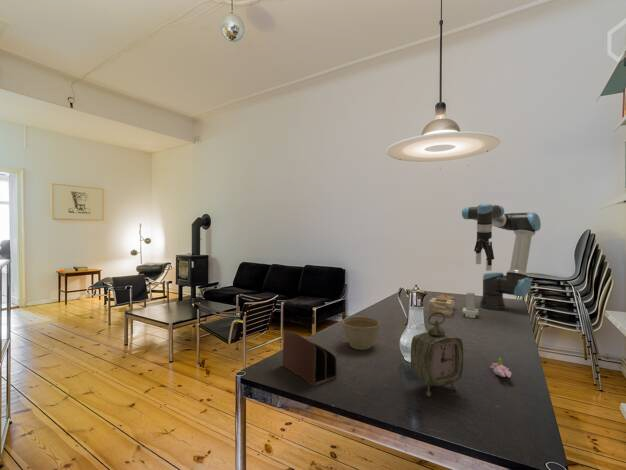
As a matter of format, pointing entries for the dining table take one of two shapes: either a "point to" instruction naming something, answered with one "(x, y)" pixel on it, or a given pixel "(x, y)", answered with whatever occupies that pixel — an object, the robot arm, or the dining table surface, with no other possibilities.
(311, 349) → the letter holder
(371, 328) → the planter bowl
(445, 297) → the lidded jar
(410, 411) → the dining table surface
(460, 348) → the tabletop clock
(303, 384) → the dining table surface
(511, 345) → the dining table surface
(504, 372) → the pink flower
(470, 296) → the grey green flanged column
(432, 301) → the beige streaked bowl
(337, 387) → the dining table surface
